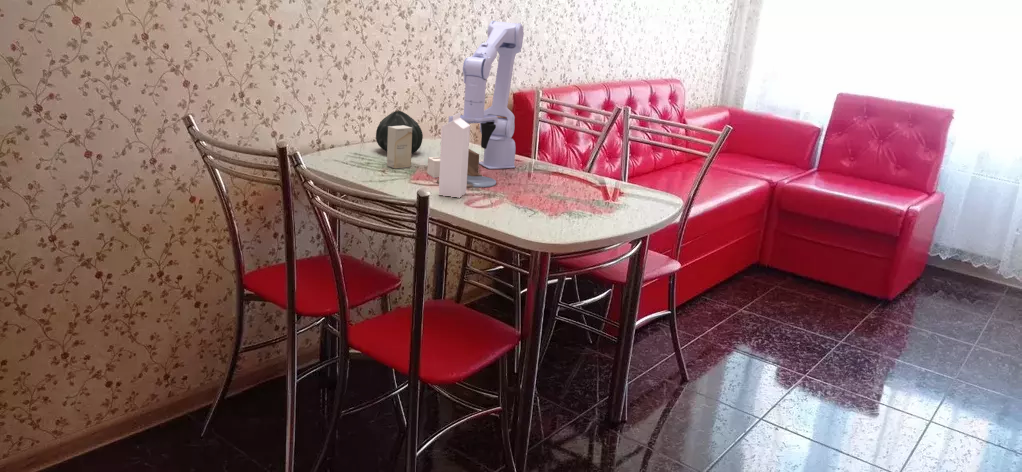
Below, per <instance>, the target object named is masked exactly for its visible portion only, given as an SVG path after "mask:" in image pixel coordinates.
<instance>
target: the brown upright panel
mask: <svg viewBox="0 0 1022 472" xmlns="http://www.w3.org/2000/svg"><path fill="white" fill-rule="evenodd" d="M479 162H480V153H478V152H476V151H474V150H472V149H470V148H469V153H468V170H467V176H483V174H481V173H479V166H480V164H479Z"/></svg>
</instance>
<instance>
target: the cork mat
mask: <svg viewBox="0 0 1022 472" xmlns="http://www.w3.org/2000/svg"><path fill="white" fill-rule="evenodd" d="M468 182H469V181H468ZM436 183H437V184H439V179H438V180H436ZM470 183H471V182H470ZM473 185H474V184H468V183H467V187H466V189H468V188H470V189H471V188H474V187H473Z"/></svg>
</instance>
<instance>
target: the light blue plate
mask: <svg viewBox="0 0 1022 472" xmlns="http://www.w3.org/2000/svg"><path fill="white" fill-rule="evenodd" d="M468 181H469V182H468ZM470 182H471V183H470ZM467 183H468V184H474V185H473V187H472V188H479V187H481V189H482V187H483V189H484V187H485V188H491V187H495V186H496V185H497V180H495V179H494V178H492V177H489V176H484V175H482V176H467ZM494 185H495V186H494Z"/></svg>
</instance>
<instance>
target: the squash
mask: <svg viewBox="0 0 1022 472" xmlns="http://www.w3.org/2000/svg"><path fill="white" fill-rule="evenodd" d="M402 125H405V126H408V127H412V149H411V155H412V154H415V153H416V152H417V151H418V150H419V149H420V148H421V146H422V144H423V138H424V136H423V131H422V128H421V126H420V125H419V123H418V122H417V121H416V120H415V119H414V118H413V117H411V116H410V115H409V114H407V113H405V112H403V111H401V110H395V111H393V112H391V113H390V114H388V115H387V116H385V117H384V118H383V119H381V121H380V122H379V123H378V126H377V128H376V131H375V132H376V133H375V140H376V143H377V145H378V147H380V148H381V149H382V150H383V151H385V152H387V145H388V126H402Z"/></svg>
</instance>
